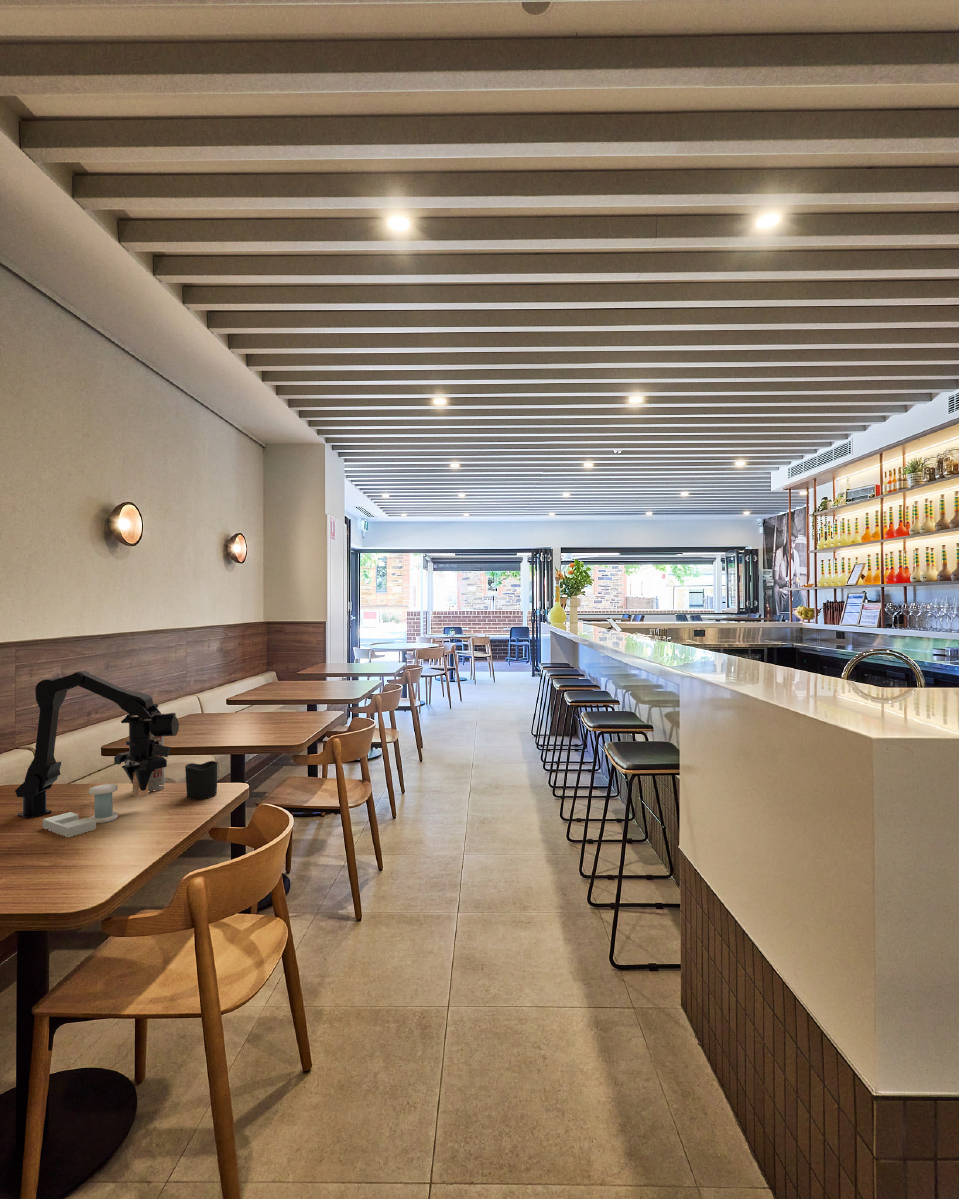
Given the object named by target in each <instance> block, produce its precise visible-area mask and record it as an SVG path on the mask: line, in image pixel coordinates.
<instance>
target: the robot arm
mask: <svg viewBox="0 0 959 1199" xmlns="http://www.w3.org/2000/svg"><path fill="white" fill-rule="evenodd" d="M78 687H80V688H82V689H85V690H87V691H89V692H90V693H94V694H96V695H98V696H100V697H103V698H105V699H107V700H109V701H112V702H113V703H115V704H116V705H117V706H118V707H119V708H120V709H121V710H123V711H125V712H126V713H127V714H126V716H125V717H124V718H122V720H120V723H121V724H128V741H125V744H126V746H128V749H129V750H128V751H125V752H120V753H117V754H115V756H114V758H113V761H114V762H113V764H115V765H122V763H123V762H124V765H122V766H121V768H122V769H123V770H124V772H125V774H126V775H127V777H128V778H129V780H130V782H131V783H132V785H133V772H134V771H135V773H136V776H137V779H138V782H139V785H140V788H141V790H142V791H144V790H146V787H147V784H148V781H149V778H150V776H151V773H152V772H153V771H154V770H155V769H159V768H163V767H164V768H166V767H168V760H167V759H166V758H169V757H168V756H169V753H170V750H171V746H168V745H164V746H162V745H159V742H158V741H154V739H151V734H153V735H154V736H155V737H157V736H164V737H175V736H178V735H177V734H178V733H179V729H180V722H179V720H178V717H177V713H176V712H170V713H162V712H161V711H160V710H159V708H158V709H157V707H156V706H155V705H154V704H155V703H154V701H153V697H152V696H151V695H150V694H147V693H143V692H140V691H135V690H129V689H125V688H122V687H120V686H118V685H116V684H114V683H112V682H109V681H108V680H107V681H106V680H105V679H102V678H100V677H98V676H96V675H94V674H92V673H90V672H88V671H86V670H80V671H77V672H74V673H72V674H68V675H66V676H62V677H59V676H57V677H52V678H46V679H41V680H40V681H38V683H37V684H36V685H35V689H34V690H35V691H34V692H35V693H34V694H35V701H36V704H37V706H38V708H39V714H38V722H37V731H36V740H35V750H34V756H33V759H32V761H31V763H30V764H29V766H28V768H27V770H26V775H25V778H24V782H22V783H21V784H20V785H19V786H18V787H17V788H16V789H15V790H14V793H15V794H16V797H17V798H22V811H21V812H18V813H17V816H19V817H22V818H24V819H31V818H35V817H38V816H42V815H47V814H50V813H53V811H52V810H51V809H48V808H47V791H48V790H50V789H51V788H52V787H53V784H54V782H56V781H57V780H58V777H59V776H61V775H62V774H61V771H60V770H61V766H62V761H56V758H55V747H56V738H57V733H58V732H57V731H58V723H59V714H60V708H61V706H62V704H63V703H64V700H65V699H66V696H67V693H68V690H71V689H74V688H78ZM148 712H149V713H148ZM156 755H158V756H157V757H156ZM159 756H164V757H159ZM150 757H152V758H150Z"/></svg>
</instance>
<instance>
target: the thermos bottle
mask: <svg viewBox="0 0 959 1199" xmlns="http://www.w3.org/2000/svg"><path fill="white" fill-rule="evenodd" d="M153 704H154V705H155V706H156V707H157V709H158V710H159V704H157V703H153ZM148 713H149V712H148ZM151 739H154V741H158V742H159V745H162V746H165V736H157V737H155V736H154V735H153V734H151ZM157 756H158V755H156V757H157ZM159 757H164V756H159ZM150 758H152V757H150ZM164 758H165V757H164ZM159 785H165V767H163V768H159V769H155V770H154V771H153V772H152V773H151V776H150V778H149V781H148V791H153V790H159V791H161V790H164V789H165V786H159ZM163 788H164V789H163Z"/></svg>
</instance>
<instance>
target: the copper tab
mask: <svg viewBox="0 0 959 1199" xmlns="http://www.w3.org/2000/svg"><path fill="white" fill-rule="evenodd" d="M148 795H149V792H148V784H147V787H146V790H144V791H142V790H141V788H140V785H139V782H138V779H137V776H136V773H135V771H134V772H133V784H132V796H133V797H137V798H139V797H144V796H148Z"/></svg>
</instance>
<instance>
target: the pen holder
mask: <svg viewBox="0 0 959 1199" xmlns="http://www.w3.org/2000/svg"><path fill="white" fill-rule="evenodd" d="M218 764H219V763H218V762H217V761H215V760H210V761H206V762H204V763H194V762H193V763H192V762H191V763H187V764H186V765H185V766H184V769H185V770H184V771H185V783H186V784H185V785H186V786H185V787H186V788H185V789H186V797H187V799H189V800H192V799H193V801H198V800H207V799H210V798H213V797H215V796H216V795H217V793H218V792H217V791H218V790H217V789H218V770H219V769H218V766H219V765H218Z"/></svg>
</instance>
